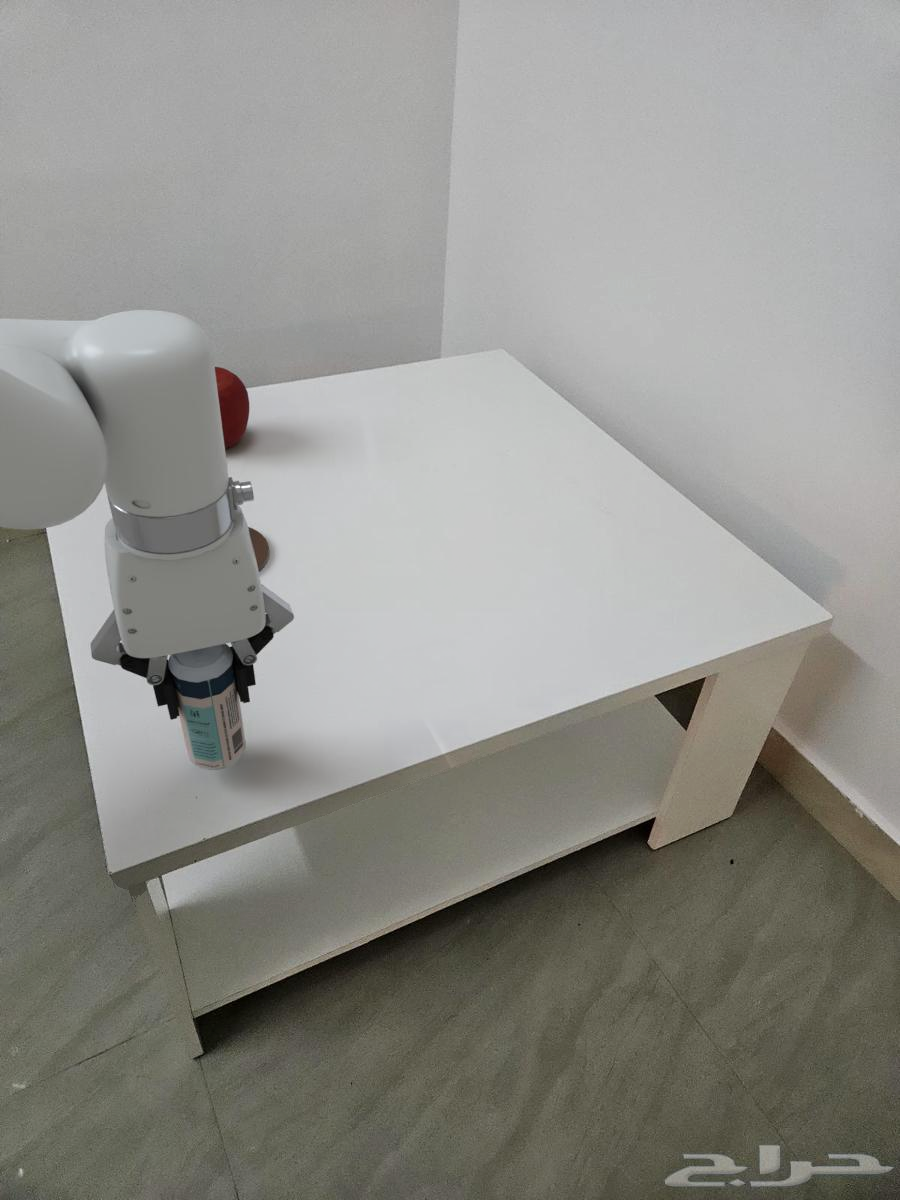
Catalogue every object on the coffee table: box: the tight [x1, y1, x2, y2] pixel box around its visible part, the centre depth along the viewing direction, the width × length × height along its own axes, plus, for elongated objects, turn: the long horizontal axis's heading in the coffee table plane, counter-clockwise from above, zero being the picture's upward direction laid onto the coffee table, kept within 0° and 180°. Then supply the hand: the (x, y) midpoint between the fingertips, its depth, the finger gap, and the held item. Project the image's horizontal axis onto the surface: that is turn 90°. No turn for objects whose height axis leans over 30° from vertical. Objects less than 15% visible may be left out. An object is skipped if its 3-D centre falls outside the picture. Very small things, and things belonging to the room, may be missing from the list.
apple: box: [215, 366, 250, 449], centre depth 107 cm, size 10×10×10 cm
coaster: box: [248, 526, 270, 572], centre depth 92 cm, size 11×11×1 cm
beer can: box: [168, 643, 247, 771], centre depth 66 cm, size 5×5×12 cm
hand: (207, 696), depth 65 cm, fingers closed on beer can, 4 cm apart
